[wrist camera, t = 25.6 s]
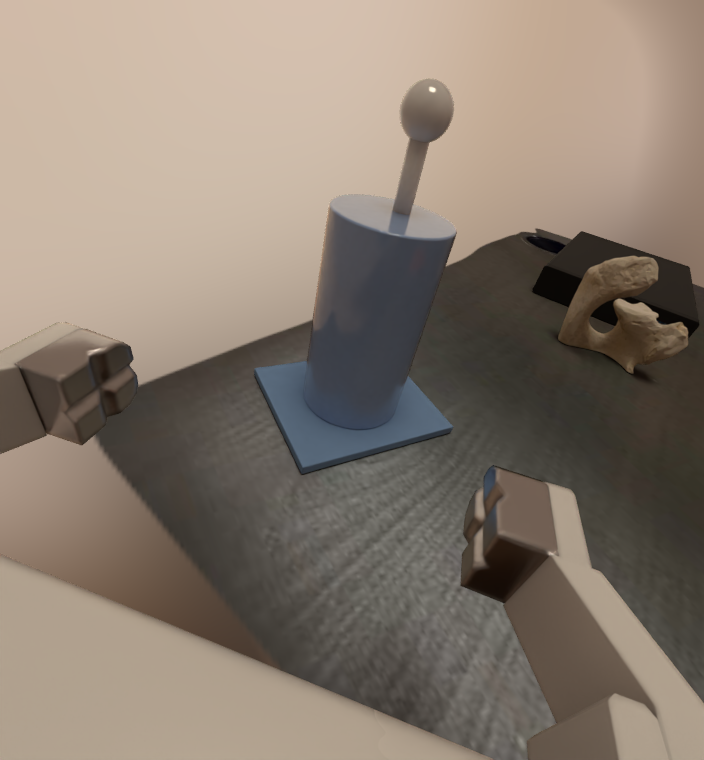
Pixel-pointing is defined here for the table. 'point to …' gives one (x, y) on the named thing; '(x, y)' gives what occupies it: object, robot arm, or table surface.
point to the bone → (622, 315)
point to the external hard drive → (662, 297)
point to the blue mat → (337, 444)
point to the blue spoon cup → (378, 282)
